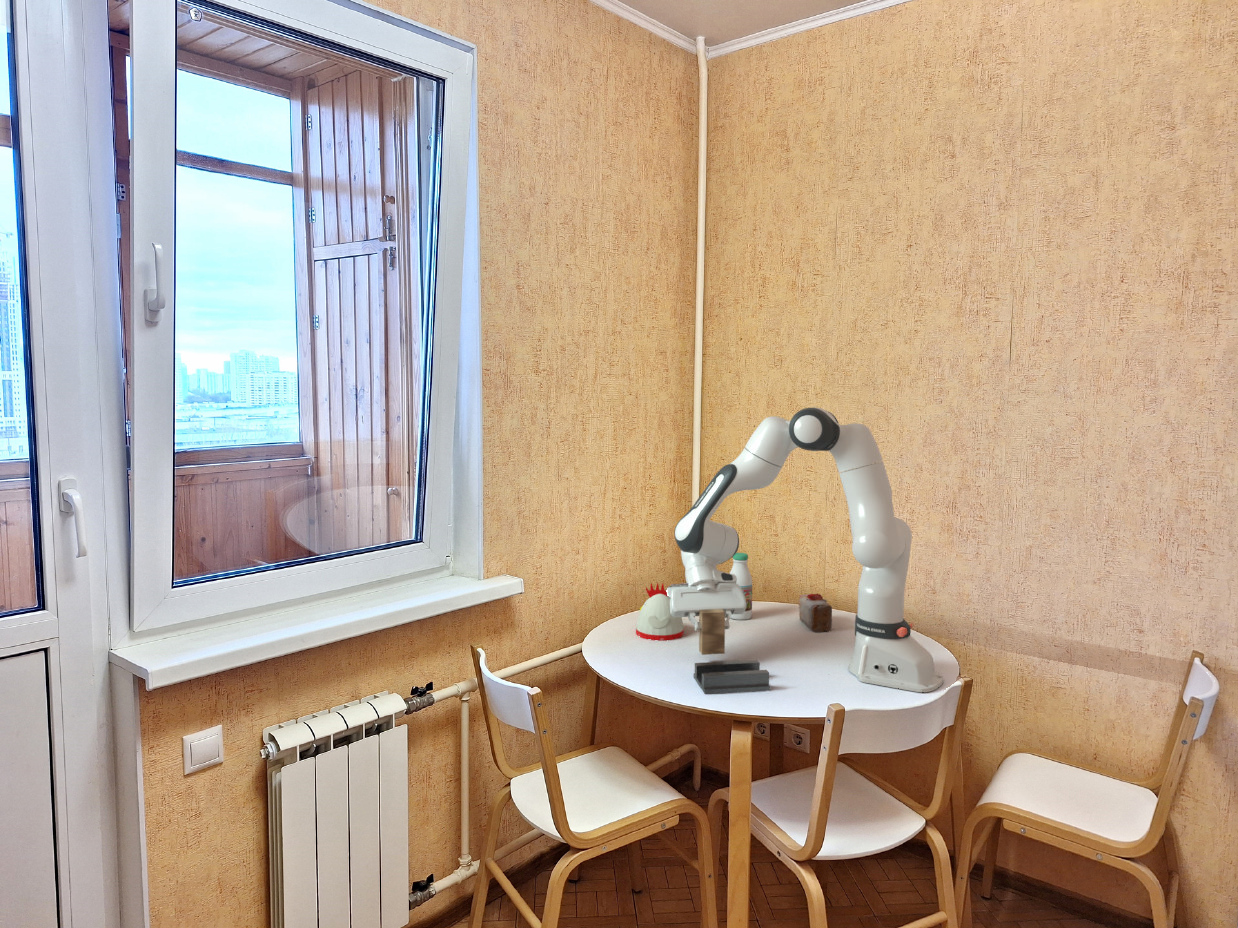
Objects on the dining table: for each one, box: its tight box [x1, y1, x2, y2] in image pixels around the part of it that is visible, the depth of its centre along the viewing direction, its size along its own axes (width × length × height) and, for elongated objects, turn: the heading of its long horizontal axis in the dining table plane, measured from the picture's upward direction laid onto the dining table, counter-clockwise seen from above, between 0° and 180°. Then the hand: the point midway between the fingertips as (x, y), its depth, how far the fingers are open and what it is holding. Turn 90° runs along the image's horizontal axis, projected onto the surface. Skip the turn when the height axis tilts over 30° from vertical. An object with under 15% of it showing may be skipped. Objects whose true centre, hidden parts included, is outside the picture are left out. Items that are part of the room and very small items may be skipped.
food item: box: [798, 593, 833, 633], centre depth 242 cm, size 14×8×10 cm, turn 6°
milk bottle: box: [729, 552, 753, 621], centre depth 250 cm, size 8×8×20 cm
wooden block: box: [698, 609, 726, 656], centre depth 209 cm, size 6×3×11 cm, turn 99°
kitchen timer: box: [635, 582, 685, 642], centre depth 234 cm, size 14×14×15 cm
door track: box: [693, 659, 771, 695], centre depth 195 cm, size 16×11×4 cm
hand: (712, 628), depth 208 cm, fingers closed on wooden block, 6 cm apart
